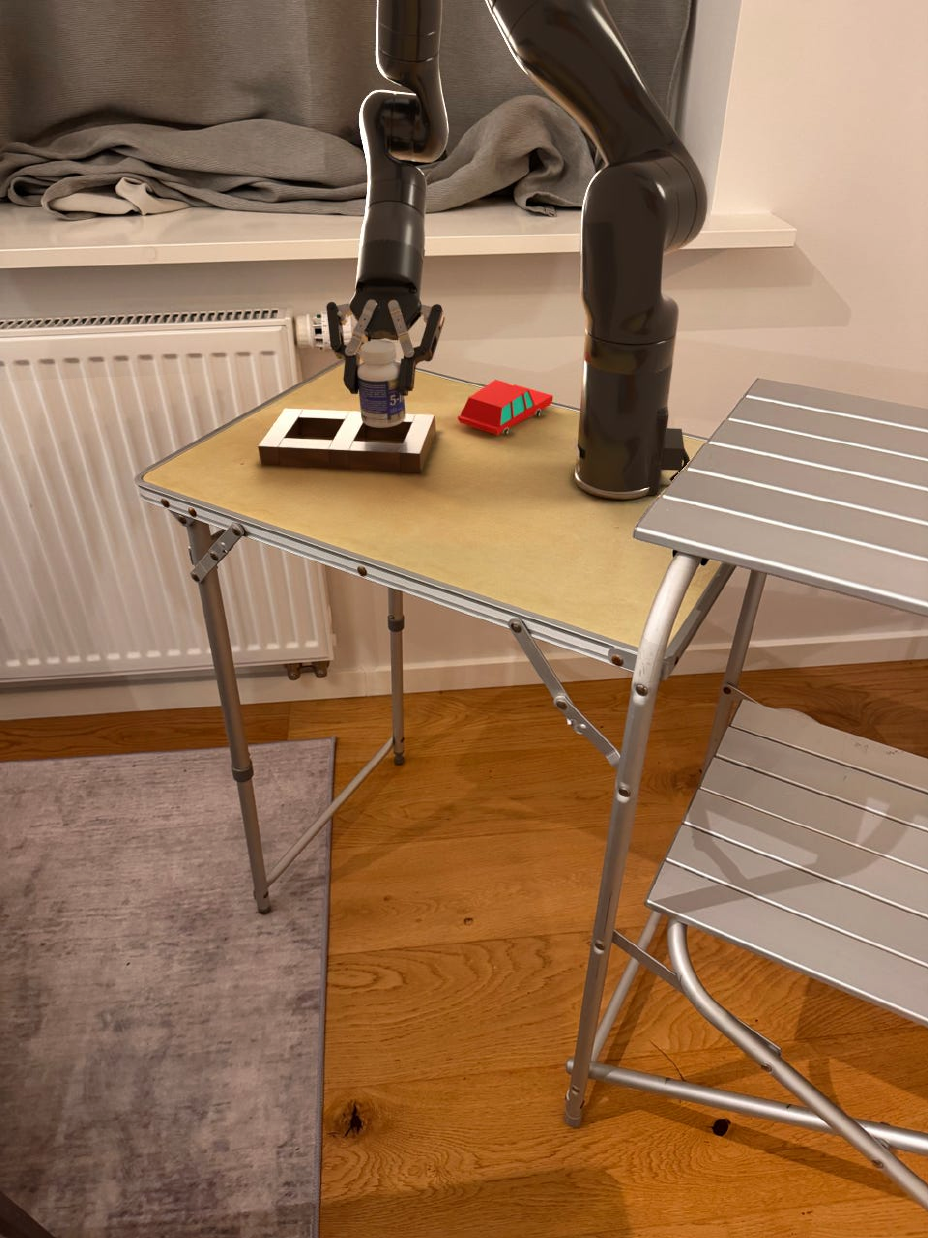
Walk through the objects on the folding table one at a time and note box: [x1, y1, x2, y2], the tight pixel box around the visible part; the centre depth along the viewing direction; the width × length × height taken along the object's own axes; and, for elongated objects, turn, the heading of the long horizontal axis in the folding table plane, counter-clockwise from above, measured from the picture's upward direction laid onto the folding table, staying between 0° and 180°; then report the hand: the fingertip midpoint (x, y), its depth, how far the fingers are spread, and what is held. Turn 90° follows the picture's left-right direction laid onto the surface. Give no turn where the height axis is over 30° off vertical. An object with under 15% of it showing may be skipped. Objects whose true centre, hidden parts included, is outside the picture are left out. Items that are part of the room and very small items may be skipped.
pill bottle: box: [357, 339, 407, 428], centre depth 104 cm, size 5×5×9 cm
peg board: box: [257, 408, 437, 474], centre depth 109 cm, size 19×11×2 cm, turn 82°
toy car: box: [457, 379, 554, 436], centre depth 115 cm, size 6×12×4 cm, turn 141°
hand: (378, 391), depth 103 cm, fingers closed on pill bottle, 5 cm apart
